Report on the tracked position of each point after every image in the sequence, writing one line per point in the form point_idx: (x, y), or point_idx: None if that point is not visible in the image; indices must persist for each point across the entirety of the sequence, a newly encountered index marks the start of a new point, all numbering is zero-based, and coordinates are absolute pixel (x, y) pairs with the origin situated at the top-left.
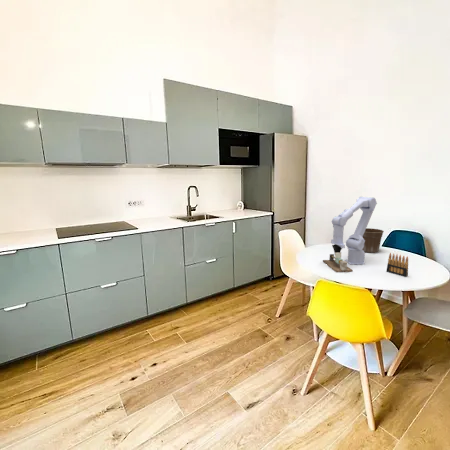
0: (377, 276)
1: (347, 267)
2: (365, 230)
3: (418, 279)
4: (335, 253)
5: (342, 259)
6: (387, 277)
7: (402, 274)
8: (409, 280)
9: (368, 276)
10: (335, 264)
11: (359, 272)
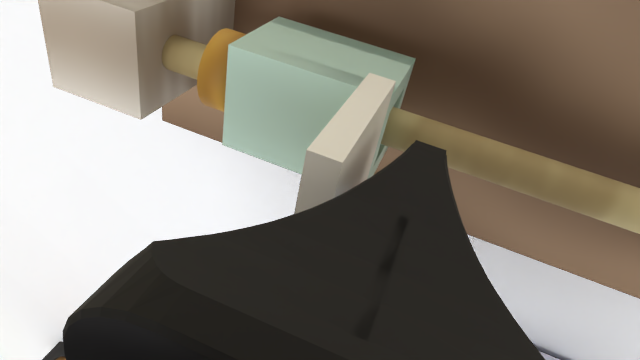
0: (57, 214)
1: None
2: None
3: (33, 354)
4: (331, 138)
5: (235, 147)
6: (44, 255)
7: (64, 354)
8: (11, 308)
9: (49, 148)
10: (462, 75)
11: (151, 162)
